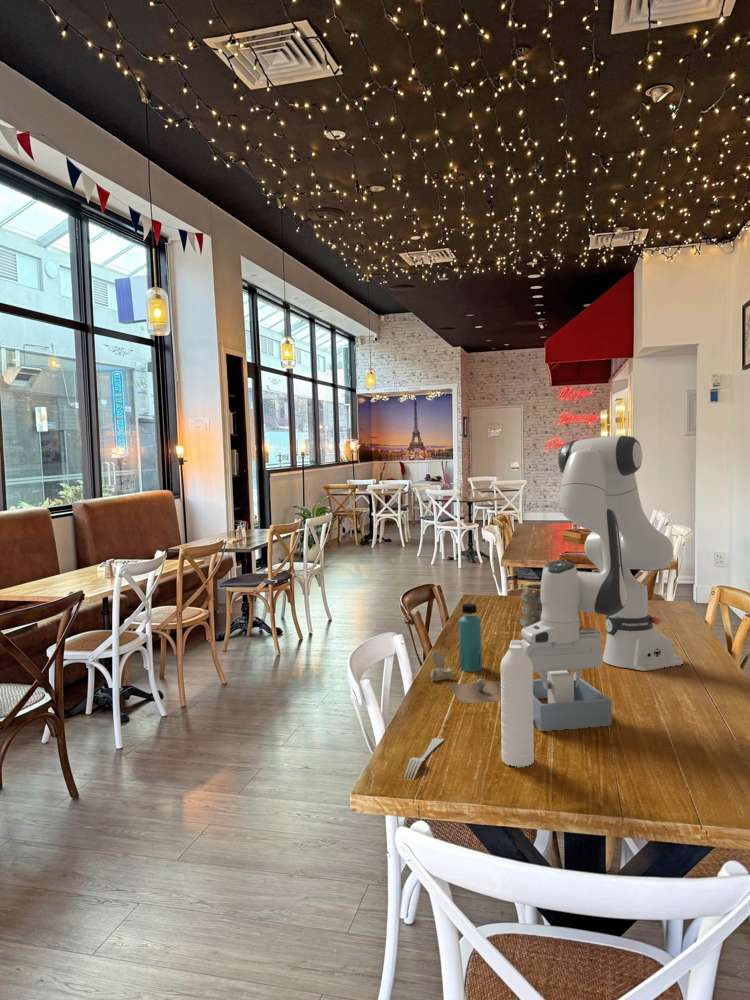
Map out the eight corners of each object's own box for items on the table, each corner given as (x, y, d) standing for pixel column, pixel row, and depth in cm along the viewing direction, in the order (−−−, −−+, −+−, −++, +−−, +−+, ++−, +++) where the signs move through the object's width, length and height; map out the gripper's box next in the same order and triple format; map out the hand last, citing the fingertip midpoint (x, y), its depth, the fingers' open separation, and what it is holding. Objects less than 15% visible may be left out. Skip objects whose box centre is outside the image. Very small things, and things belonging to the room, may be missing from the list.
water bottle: (502, 752, 143) (500, 635, 141) (534, 755, 141) (533, 636, 139) (500, 771, 134) (498, 647, 133) (533, 774, 133) (532, 649, 131)
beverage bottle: (481, 677, 190) (480, 607, 189) (458, 676, 192) (456, 606, 190) (482, 670, 197) (481, 602, 195) (459, 669, 198) (458, 601, 196)
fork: (446, 750, 150) (446, 738, 150) (414, 783, 131) (414, 768, 131) (434, 749, 151) (434, 736, 152) (400, 781, 132) (400, 766, 132)
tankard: (529, 618, 255) (529, 579, 254) (562, 623, 247) (562, 582, 246) (506, 631, 239) (506, 588, 238) (541, 636, 231) (540, 592, 230)
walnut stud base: (498, 686, 183) (497, 668, 182) (516, 705, 169) (516, 685, 169) (447, 690, 181) (447, 672, 180) (462, 709, 167) (461, 690, 167)
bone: (452, 685, 180) (434, 650, 183) (432, 694, 183) (415, 660, 185) (463, 677, 188) (446, 644, 190) (444, 686, 191) (427, 654, 193)
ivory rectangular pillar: (565, 706, 165) (565, 669, 164) (574, 713, 160) (573, 675, 160) (547, 707, 164) (547, 671, 164) (555, 714, 160) (555, 677, 159)
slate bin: (578, 699, 172) (578, 676, 172) (611, 725, 155) (611, 699, 155) (513, 704, 169) (513, 681, 169) (540, 732, 153) (540, 705, 152)
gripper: (595, 624, 166) (595, 680, 167) (514, 630, 163) (515, 686, 163) (607, 631, 159) (607, 688, 160) (524, 637, 156) (525, 695, 157)
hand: (560, 687), depth 162 cm, fingers open, 5 cm apart
